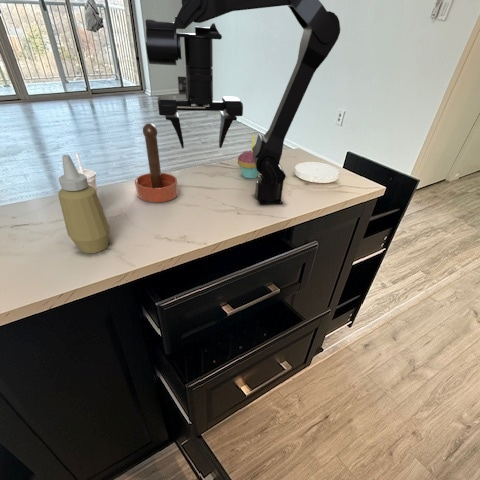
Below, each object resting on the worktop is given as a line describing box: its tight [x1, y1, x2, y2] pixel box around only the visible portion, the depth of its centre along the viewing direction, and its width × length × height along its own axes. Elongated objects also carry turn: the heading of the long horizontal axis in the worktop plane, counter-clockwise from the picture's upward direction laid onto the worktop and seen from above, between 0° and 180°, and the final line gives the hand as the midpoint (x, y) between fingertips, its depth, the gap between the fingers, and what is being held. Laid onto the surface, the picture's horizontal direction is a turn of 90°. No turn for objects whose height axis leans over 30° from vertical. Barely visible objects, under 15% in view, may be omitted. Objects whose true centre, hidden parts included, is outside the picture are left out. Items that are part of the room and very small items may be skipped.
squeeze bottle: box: [57, 154, 111, 254], centre depth 61 cm, size 8×8×18 cm
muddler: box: [142, 123, 163, 188], centre depth 81 cm, size 4×4×17 cm
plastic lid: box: [294, 161, 340, 184], centre depth 102 cm, size 14×14×2 cm
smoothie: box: [74, 152, 99, 197], centre depth 73 cm, size 6×6×14 cm
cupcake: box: [237, 131, 260, 179], centre depth 97 cm, size 9×8×12 cm
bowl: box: [134, 172, 179, 204], centre depth 86 cm, size 11×11×4 cm
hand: (201, 147), depth 78 cm, fingers open, 9 cm apart
